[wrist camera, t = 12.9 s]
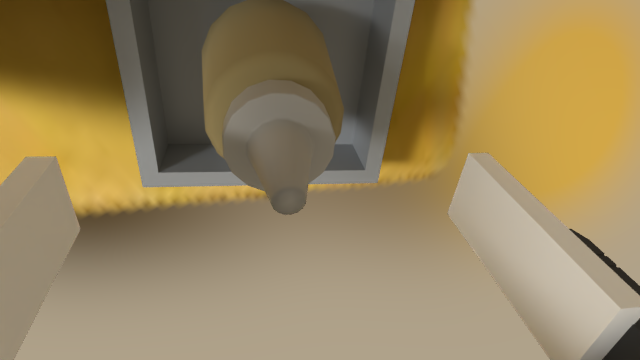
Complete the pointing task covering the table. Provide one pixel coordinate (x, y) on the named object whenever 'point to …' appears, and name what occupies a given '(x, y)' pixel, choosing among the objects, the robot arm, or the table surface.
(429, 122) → the table surface
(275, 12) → the squeeze bottle
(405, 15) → the bin
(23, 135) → the table surface
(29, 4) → the table surface
